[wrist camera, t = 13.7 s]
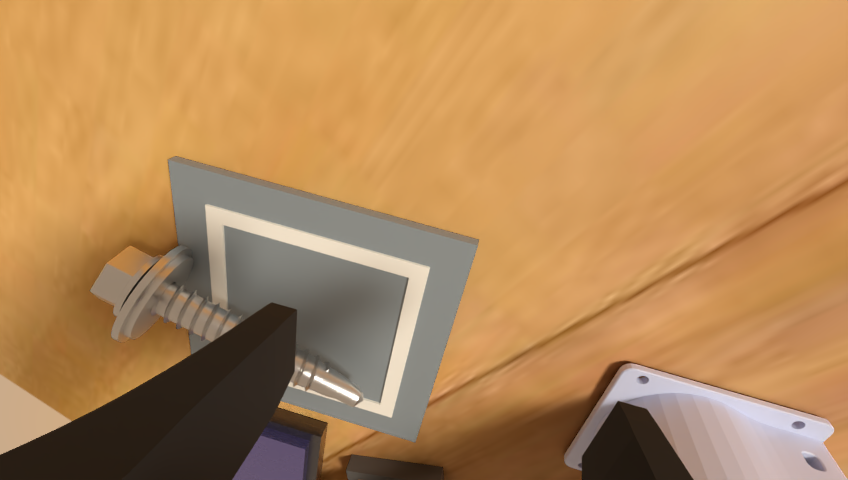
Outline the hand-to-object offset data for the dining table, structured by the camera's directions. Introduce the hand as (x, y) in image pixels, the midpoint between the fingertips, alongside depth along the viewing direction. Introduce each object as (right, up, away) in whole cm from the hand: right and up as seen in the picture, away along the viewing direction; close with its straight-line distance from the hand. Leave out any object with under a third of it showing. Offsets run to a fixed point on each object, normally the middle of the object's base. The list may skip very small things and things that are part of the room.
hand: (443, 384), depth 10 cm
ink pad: (-12, -11, +20) cm, 25 cm away
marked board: (-6, -1, +13) cm, 14 cm away
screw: (-9, 0, +13) cm, 16 cm away
